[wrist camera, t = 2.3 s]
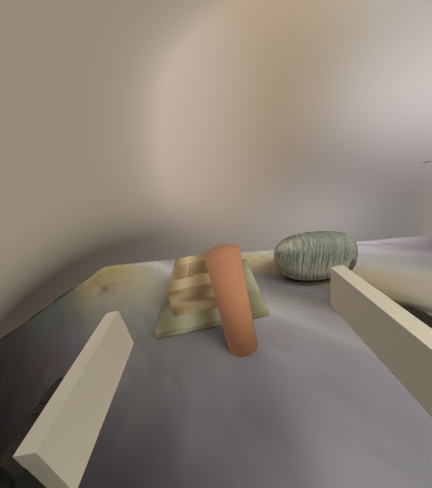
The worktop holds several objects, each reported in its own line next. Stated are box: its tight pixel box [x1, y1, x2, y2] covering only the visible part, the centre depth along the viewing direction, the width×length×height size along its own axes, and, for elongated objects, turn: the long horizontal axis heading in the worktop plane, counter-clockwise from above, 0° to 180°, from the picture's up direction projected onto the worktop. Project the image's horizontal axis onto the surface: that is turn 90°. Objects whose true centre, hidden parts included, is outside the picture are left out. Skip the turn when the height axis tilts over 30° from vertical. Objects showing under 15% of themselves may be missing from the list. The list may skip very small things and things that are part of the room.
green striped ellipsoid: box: [274, 231, 358, 280], centre depth 37 cm, size 14×10×10 cm
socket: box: [154, 253, 269, 339], centre depth 39 cm, size 18×18×6 cm
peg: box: [204, 245, 257, 356], centre depth 25 cm, size 4×4×14 cm
